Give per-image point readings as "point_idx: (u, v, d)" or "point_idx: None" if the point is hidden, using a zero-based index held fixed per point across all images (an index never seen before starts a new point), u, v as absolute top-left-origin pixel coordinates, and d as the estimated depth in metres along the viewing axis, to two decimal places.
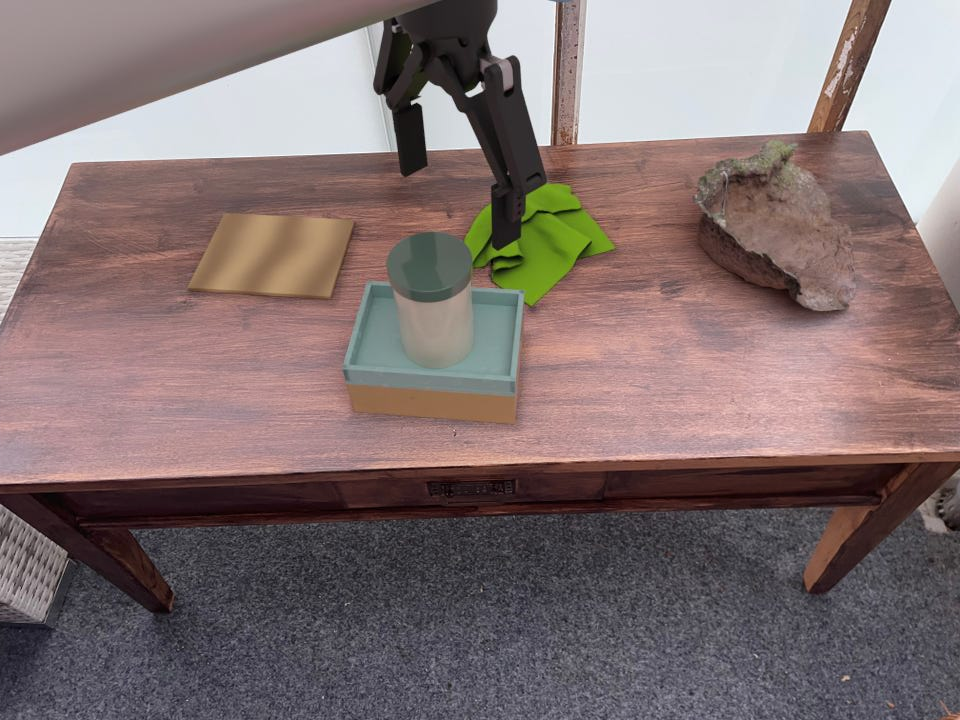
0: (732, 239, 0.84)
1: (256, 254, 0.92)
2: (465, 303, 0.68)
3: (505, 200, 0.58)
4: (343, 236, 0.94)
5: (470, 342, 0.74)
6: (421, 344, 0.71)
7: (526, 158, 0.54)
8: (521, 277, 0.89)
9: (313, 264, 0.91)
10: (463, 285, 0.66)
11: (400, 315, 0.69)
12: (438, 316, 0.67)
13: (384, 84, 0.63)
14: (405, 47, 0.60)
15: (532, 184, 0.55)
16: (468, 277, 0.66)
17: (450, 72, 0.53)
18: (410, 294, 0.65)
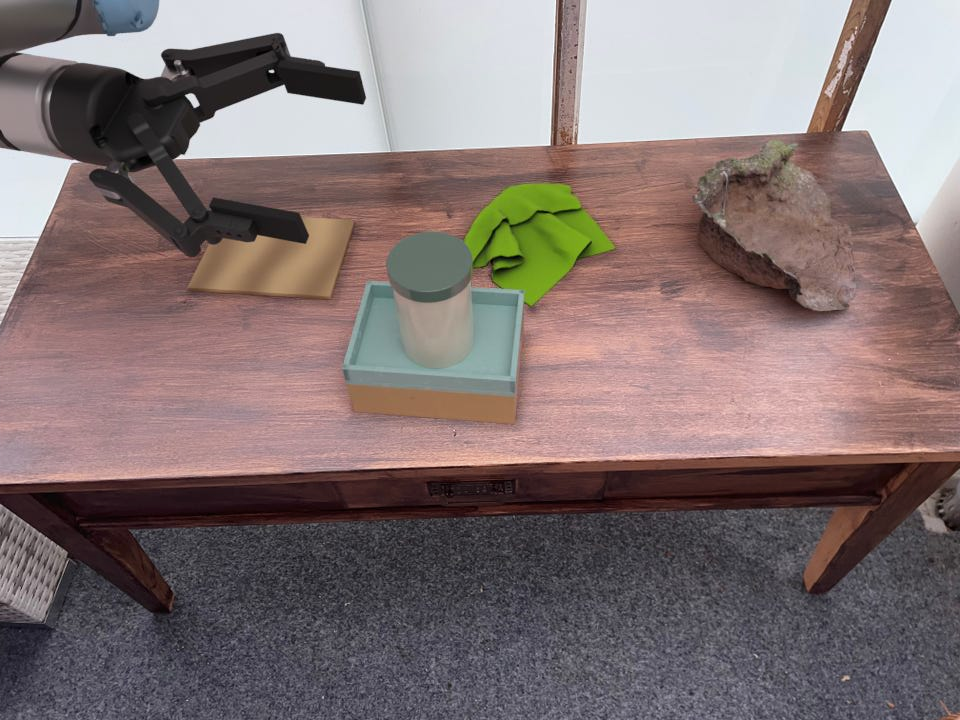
0: (732, 239, 0.84)
1: (256, 254, 0.92)
2: (465, 303, 0.68)
3: None
4: (343, 236, 0.94)
5: (470, 342, 0.74)
6: (421, 344, 0.71)
7: None
8: (521, 277, 0.89)
9: (313, 264, 0.91)
10: (463, 285, 0.66)
11: (400, 315, 0.69)
12: (438, 316, 0.67)
13: (175, 218, 0.51)
14: None
15: None
16: (468, 277, 0.66)
17: None
18: (410, 294, 0.65)
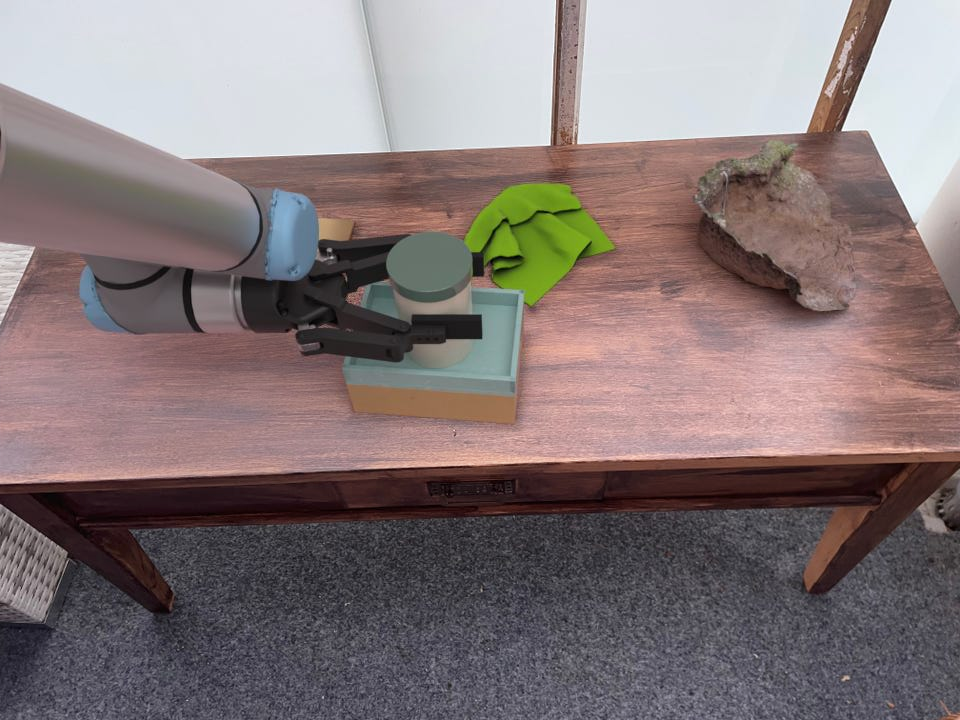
0: (732, 239, 0.84)
1: None
2: (465, 303, 0.68)
3: None
4: (343, 236, 0.94)
5: (470, 342, 0.74)
6: (421, 344, 0.71)
7: None
8: (521, 277, 0.89)
9: None
10: (463, 285, 0.66)
11: (400, 315, 0.69)
12: None
13: None
14: None
15: None
16: (468, 277, 0.66)
17: None
18: (410, 294, 0.65)
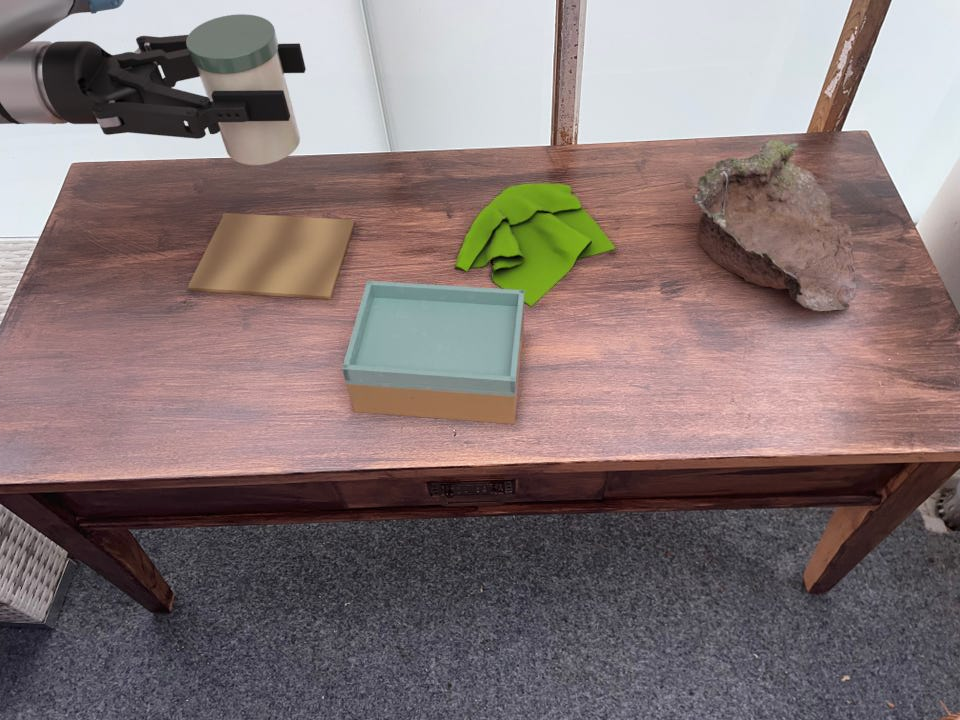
0: (732, 239, 0.84)
1: (256, 254, 0.92)
2: (272, 84, 0.68)
3: None
4: (343, 236, 0.94)
5: (290, 139, 0.73)
6: (233, 132, 0.70)
7: None
8: (521, 277, 0.89)
9: (313, 264, 0.91)
10: (262, 57, 0.65)
11: None
12: None
13: None
14: None
15: None
16: (267, 51, 0.65)
17: None
18: (206, 64, 0.64)
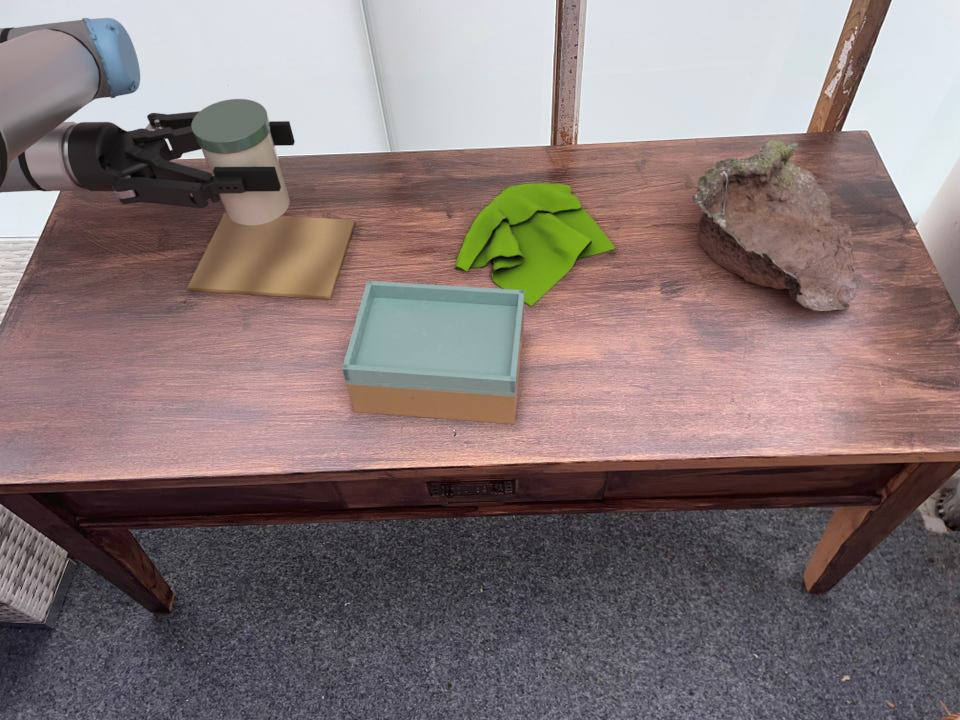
0: (732, 239, 0.84)
1: (256, 254, 0.92)
2: (265, 160, 0.79)
3: None
4: (343, 236, 0.94)
5: (281, 203, 0.84)
6: (232, 199, 0.81)
7: None
8: (521, 277, 0.89)
9: (313, 264, 0.91)
10: (256, 139, 0.76)
11: (211, 172, 0.80)
12: None
13: None
14: None
15: None
16: (261, 133, 0.76)
17: None
18: (208, 145, 0.75)
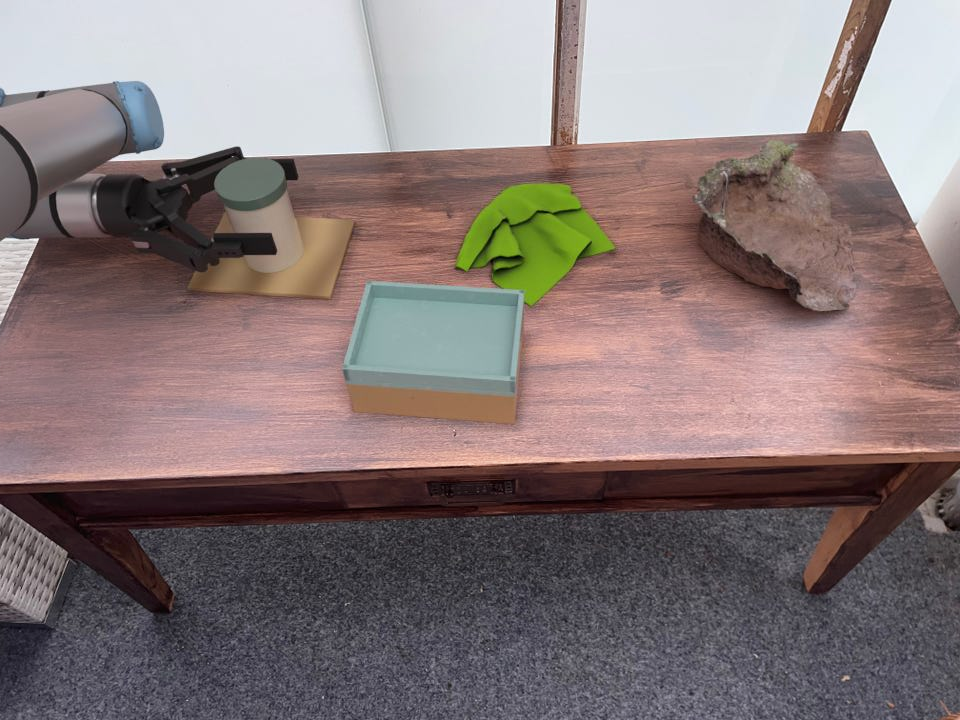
0: (732, 239, 0.84)
1: None
2: (282, 214, 0.85)
3: None
4: (343, 236, 0.94)
5: (296, 251, 0.90)
6: None
7: None
8: (521, 277, 0.89)
9: (313, 264, 0.91)
10: (274, 197, 0.82)
11: (231, 225, 0.86)
12: (258, 224, 0.84)
13: None
14: None
15: None
16: (279, 191, 0.82)
17: None
18: (230, 204, 0.81)
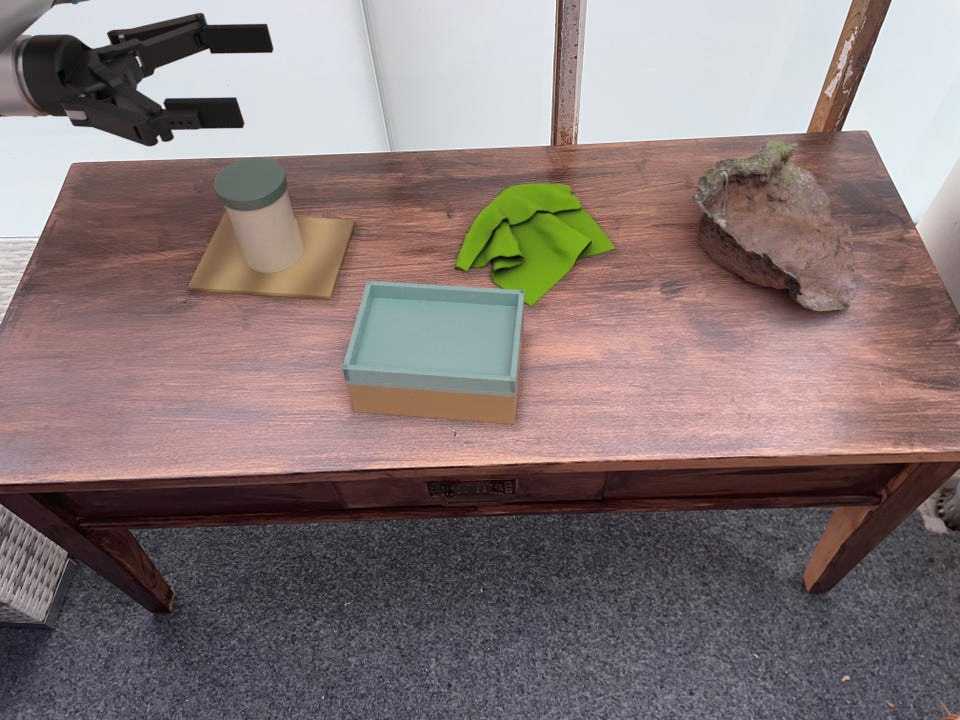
0: (732, 239, 0.84)
1: None
2: (282, 214, 0.85)
3: None
4: (343, 236, 0.94)
5: (296, 251, 0.90)
6: (250, 250, 0.87)
7: None
8: (521, 277, 0.89)
9: (313, 264, 0.91)
10: (274, 197, 0.82)
11: (231, 225, 0.86)
12: (258, 224, 0.84)
13: None
14: None
15: None
16: (279, 191, 0.82)
17: None
18: (230, 204, 0.81)
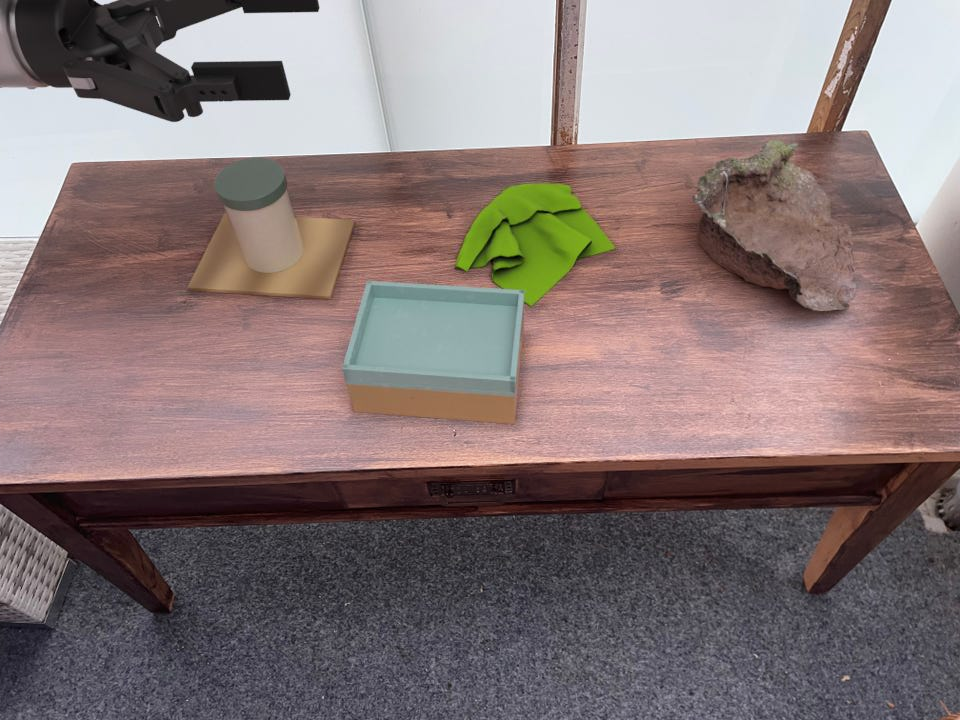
0: (732, 239, 0.84)
1: None
2: (282, 214, 0.85)
3: None
4: (343, 236, 0.94)
5: (296, 251, 0.90)
6: (250, 250, 0.87)
7: None
8: (521, 277, 0.89)
9: (313, 264, 0.91)
10: (274, 197, 0.82)
11: (231, 225, 0.86)
12: (258, 224, 0.84)
13: None
14: None
15: None
16: (279, 191, 0.82)
17: None
18: (230, 204, 0.81)
